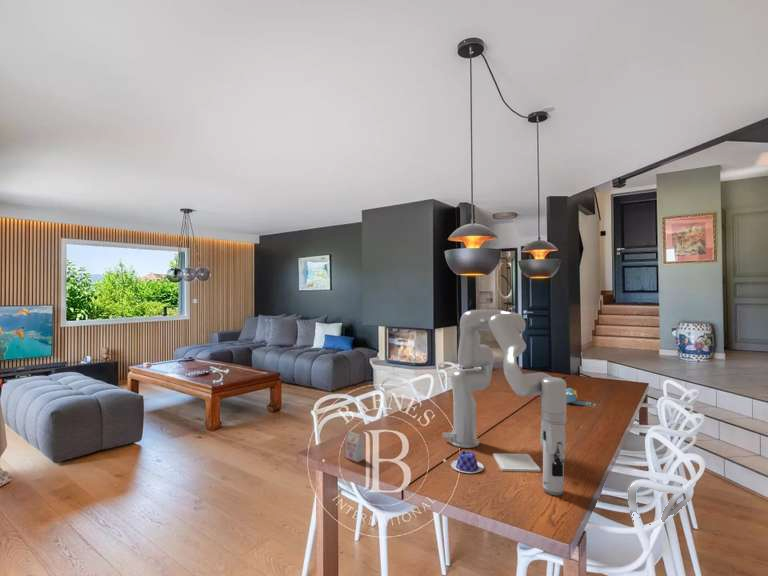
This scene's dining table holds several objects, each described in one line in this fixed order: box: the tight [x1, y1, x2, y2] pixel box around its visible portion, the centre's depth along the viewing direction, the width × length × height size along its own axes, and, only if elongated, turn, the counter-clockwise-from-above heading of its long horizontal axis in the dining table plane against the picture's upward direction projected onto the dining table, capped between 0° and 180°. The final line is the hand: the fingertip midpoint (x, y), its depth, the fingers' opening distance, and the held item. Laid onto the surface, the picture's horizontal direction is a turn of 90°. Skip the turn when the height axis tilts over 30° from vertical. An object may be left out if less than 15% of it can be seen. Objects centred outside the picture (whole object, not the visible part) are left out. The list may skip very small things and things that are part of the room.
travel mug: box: [542, 430, 565, 496], centre depth 131 cm, size 6×7×20 cm
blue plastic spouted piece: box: [566, 387, 597, 407], centre depth 238 cm, size 28×9×15 cm
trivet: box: [492, 452, 542, 473], centre depth 153 cm, size 14×14×1 cm
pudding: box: [450, 450, 484, 474], centre depth 150 cm, size 12×12×5 cm
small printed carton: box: [344, 430, 365, 463], centre depth 157 cm, size 4×7×10 cm, turn 49°
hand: (553, 470), depth 131 cm, fingers closed on travel mug, 6 cm apart
